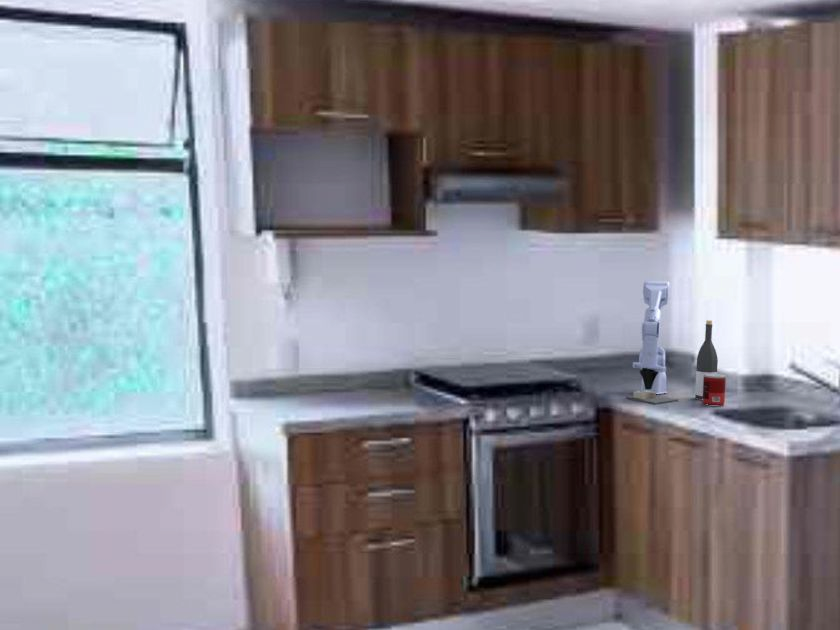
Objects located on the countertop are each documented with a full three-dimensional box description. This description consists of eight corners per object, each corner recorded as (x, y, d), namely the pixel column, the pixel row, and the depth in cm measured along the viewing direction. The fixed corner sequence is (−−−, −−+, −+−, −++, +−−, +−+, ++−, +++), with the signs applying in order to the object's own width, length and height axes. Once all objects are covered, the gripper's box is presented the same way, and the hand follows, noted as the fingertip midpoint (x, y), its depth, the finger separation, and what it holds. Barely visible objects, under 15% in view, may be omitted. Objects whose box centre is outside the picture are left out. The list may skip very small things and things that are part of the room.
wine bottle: (691, 398, 386) (694, 320, 383) (698, 396, 393) (702, 318, 390) (711, 401, 382) (715, 322, 379) (719, 398, 388) (723, 320, 385)
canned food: (728, 404, 376) (730, 375, 374) (716, 407, 370) (717, 377, 369) (710, 401, 381) (711, 372, 380) (698, 403, 376) (699, 374, 375)
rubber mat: (649, 395, 392) (649, 393, 392) (678, 401, 381) (678, 399, 381) (626, 398, 384) (626, 396, 384) (655, 404, 373) (655, 402, 373)
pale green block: (655, 397, 384) (645, 395, 388) (656, 392, 383) (645, 390, 387) (643, 399, 379) (633, 397, 383) (643, 393, 379) (633, 391, 383)
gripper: (627, 351, 384) (626, 387, 386) (658, 356, 373) (656, 392, 374) (640, 350, 389) (638, 385, 390) (670, 355, 377) (668, 391, 378)
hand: (648, 389), depth 382 cm, fingers closed
